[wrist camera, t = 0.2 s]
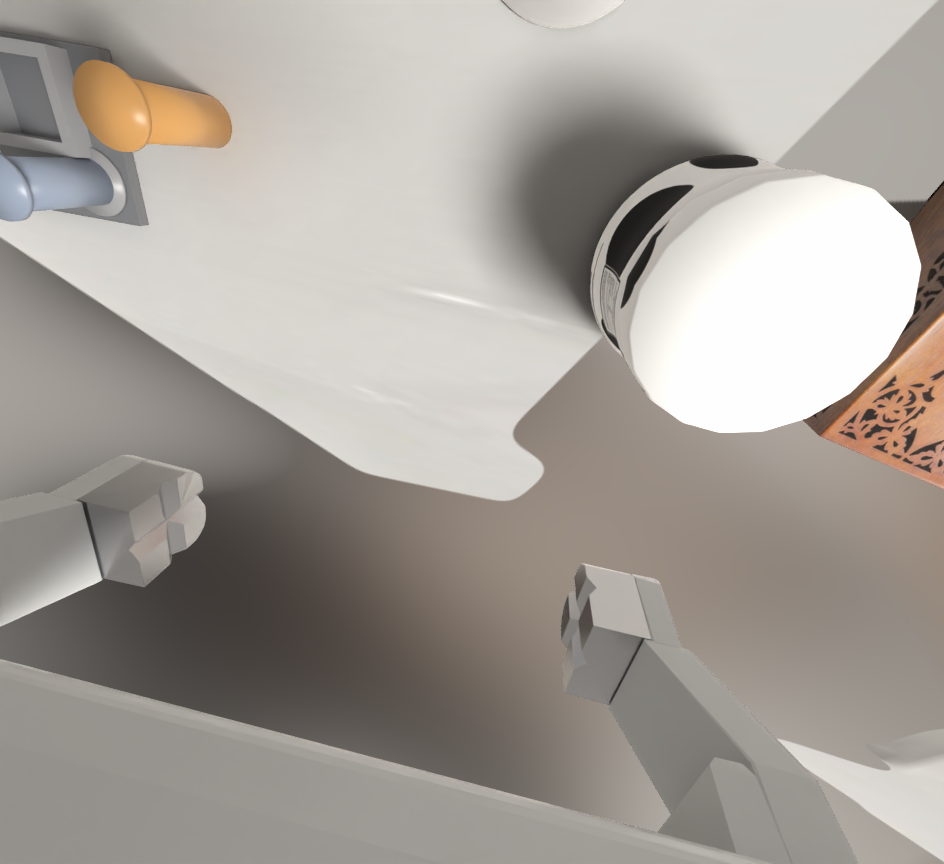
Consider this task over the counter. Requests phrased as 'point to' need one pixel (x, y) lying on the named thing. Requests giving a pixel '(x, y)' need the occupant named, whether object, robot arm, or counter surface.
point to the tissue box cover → (904, 376)
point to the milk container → (752, 290)
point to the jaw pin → (145, 111)
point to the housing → (57, 139)
